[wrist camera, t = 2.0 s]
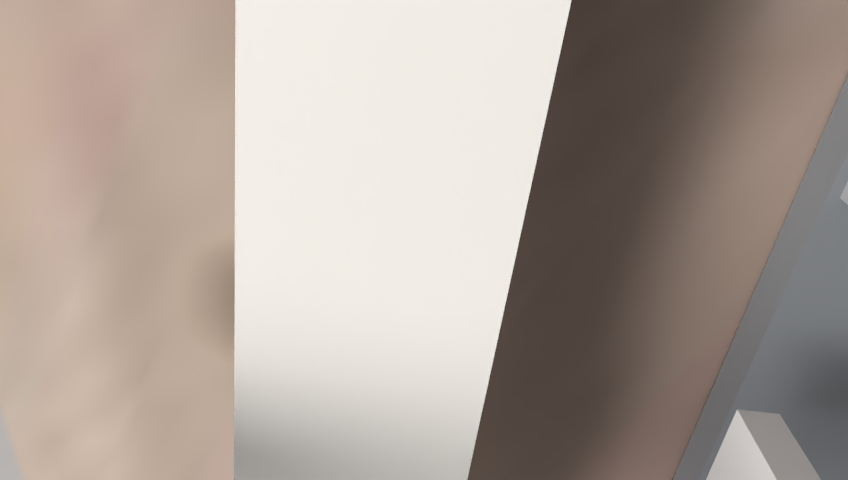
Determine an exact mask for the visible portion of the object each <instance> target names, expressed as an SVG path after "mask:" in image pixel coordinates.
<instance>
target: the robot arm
mask: <svg viewBox="0 0 848 480" xmlns="http://www.w3.org/2000/svg"><path fill="white" fill-rule="evenodd" d="M706 480H821V479H820V477H819V476H818V474H817V472H816V471H815V469H814V468H813V466H812V464H811V463H810V461H809V460H808V458H807V457H806V455H805V453H804V452H803V450H802V449H801V447H800V445H799V444H798V442H797V441H796V439H795V438H794V436H793V434H792V433H791V431H790V430H789V428H788V427H787V425H786V423H785V422H784V420H783V419H782V417H781V415H780V414H776V413H766V412H757V411H748V410H738V409H737V411H736V413H735V415H734V417H733V420H732V422H731V424H730V426H729V429H728V431H727V433H726V436H725V438H724V440H723V442H722V445H721V447H720V449H719V451H718V454H717V456H716V458H715V460H714V463H713V465H712V467H711V469H710V472H709V474H708V476H707V478H706Z"/></svg>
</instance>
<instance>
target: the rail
mask: <svg viewBox="0 0 848 480" xmlns="http://www.w3.org/2000/svg"><path fill="white" fill-rule="evenodd" d="M571 1H572V0H236V56H235V362H234V480H467V479H468V474H469V470H470V465H471V460H472V456H473V451H474V447H475V442H476V437H477V433H478V428H479V424H480V419H481V414H482V410H483V405H484V401H485V396H486V391H487V387H488V382H489V378H490V373H491V368H492V364H493V359H494V355H495V350H496V345H497V341H498V336H499V332H500V327H501V323H502V318H503V313H504V309H505V304H506V300H507V295H508V290H509V286H510V281H511V277H512V272H513V267H514V263H515V258H516V254H517V249H518V244H519V240H520V235H521V231H522V226H523V221H524V217H525V212H526V208H527V203H528V198H529V194H530V189H531V185H532V180H533V175H534V171H535V166H536V162H537V157H538V152H539V148H540V143H541V139H542V134H543V129H544V125H545V120H546V116H547V111H548V106H549V102H550V97H551V93H552V88H553V83H554V79H555V74H556V70H557V65H558V60H559V56H560V51H561V47H562V42H563V37H564V33H565V28H566V24H567V19H568V15H569V10H570V5H571Z"/></svg>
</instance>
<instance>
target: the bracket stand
mask: <svg viewBox="0 0 848 480" xmlns="http://www.w3.org/2000/svg"><path fill="white" fill-rule="evenodd" d="M737 409H738V410H748V411H757V412H766V413H776V414H780V415H781V417H782V419H783V420H784V422H785V423H786V425H787V427H788V428H789V430H790V431H791V433H792V434H793V436H794V438H795V439H796V441H797V442H798V444H799V445H800V447H801V449H802V450H803V452H804V453H805V455H806V457H807V458H808V460H809V461H810V463H811V464H812V466H813V468H814V469H815V471H816V472H817V474H818V476H819V477H820V479H821V480H848V76H847V78H846V80H845V82H844V85H843V87H842V89H841V92H840V94H839V96H838V99H837V101H836V103H835V106H834V108H833V110H832V112H831V115H830V117H829V119H828V122H827V124H826V126H825V129H824V131H823V133H822V136H821V138H820V140H819V143H818V145H817V147H816V149H815V152H814V154H813V156H812V159H811V161H810V163H809V166H808V168H807V170H806V173H805V175H804V177H803V179H802V182H801V184H800V186H799V189H798V191H797V193H796V196H795V198H794V200H793V203H792V205H791V207H790V210H789V212H788V214H787V216H786V219H785V221H784V223H783V226H782V228H781V230H780V233H779V235H778V237H777V240H776V242H775V244H774V246H773V249H772V251H771V253H770V256H769V258H768V260H767V263H766V265H765V267H764V270H763V272H762V274H761V276H760V279H759V281H758V283H757V286H756V288H755V290H754V293H753V295H752V297H751V300H750V302H749V304H748V307H747V309H746V311H745V313H744V316H743V318H742V320H741V323H740V325H739V327H738V330H737V332H736V334H735V337H734V339H733V341H732V343H731V346H730V348H729V350H728V353H727V355H726V357H725V360H724V362H723V364H722V367H721V369H720V371H719V374H718V376H717V378H716V380H715V383H714V385H713V387H712V390H711V392H710V394H709V397H708V399H707V401H706V404H705V406H704V408H703V410H702V413H701V415H700V417H699V420H698V422H697V424H696V427H695V429H694V431H693V434H692V436H691V438H690V441H689V443H688V445H687V447H686V450H685V452H684V454H683V457H682V459H681V461H680V464H679V466H678V468H677V471H676V473H675V475H674V477H673V480H706V478H707V476H708V474H709V472H710V469H711V467H712V465H713V463H714V460H715V458H716V456H717V454H718V451H719V449H720V447H721V445H722V442H723V440H724V438H725V436H726V433H727V431H728V429H729V426H730V424H731V422H732V420H733V417H734V415H735V413H736V411H737Z"/></svg>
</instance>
